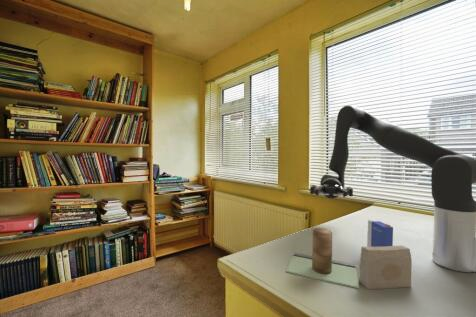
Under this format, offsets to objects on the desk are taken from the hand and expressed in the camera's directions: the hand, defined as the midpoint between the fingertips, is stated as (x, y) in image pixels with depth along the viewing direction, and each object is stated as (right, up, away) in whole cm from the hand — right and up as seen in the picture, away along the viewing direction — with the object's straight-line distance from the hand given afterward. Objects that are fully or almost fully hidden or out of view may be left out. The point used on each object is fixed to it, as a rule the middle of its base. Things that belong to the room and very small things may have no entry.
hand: (330, 193), depth 76 cm
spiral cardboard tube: (-8, -20, -12) cm, 24 cm away
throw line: (-5, -20, -6) cm, 21 cm away
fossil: (+6, -21, -19) cm, 29 cm away
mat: (-8, -20, -12) cm, 25 cm away
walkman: (+13, -20, -5) cm, 25 cm away
